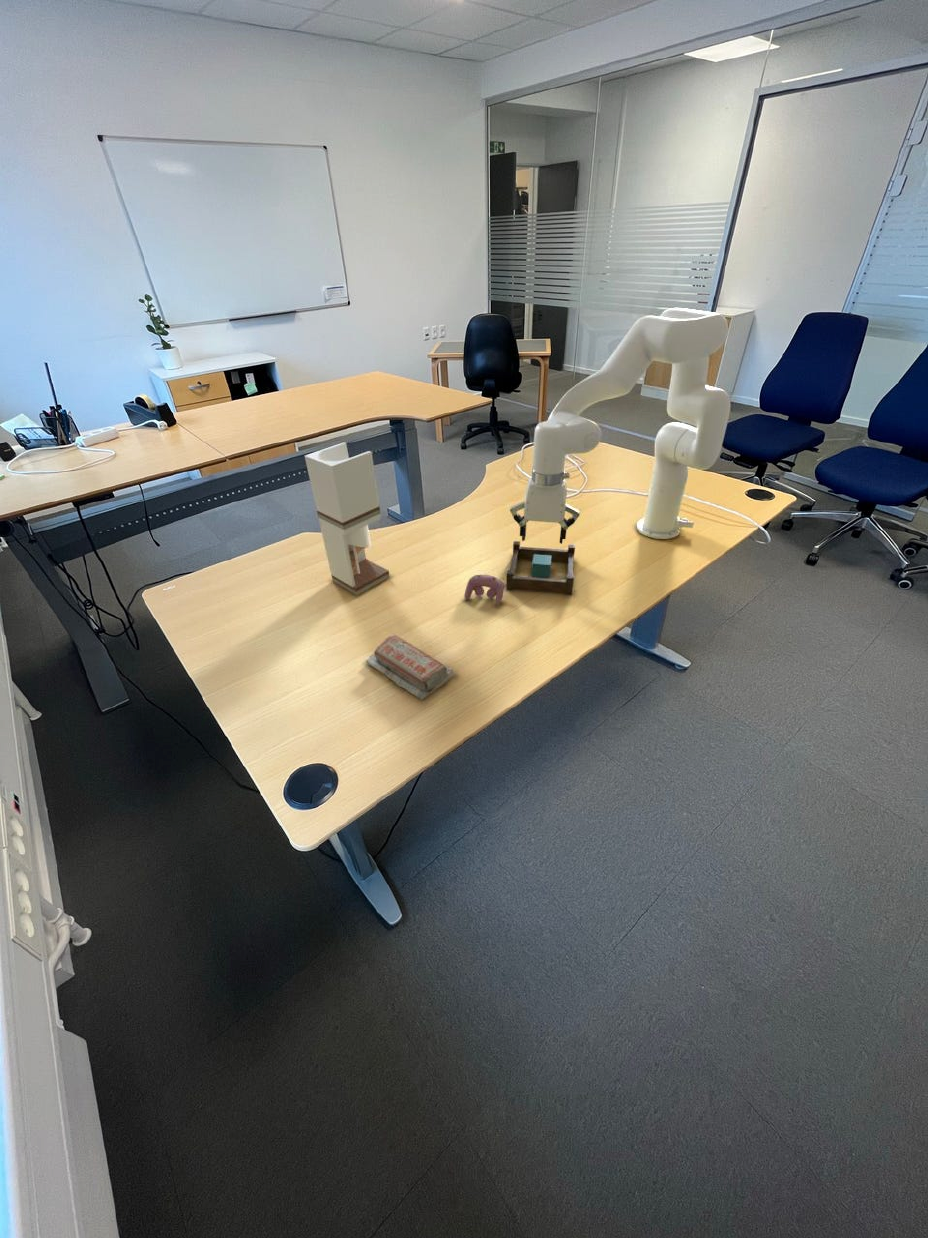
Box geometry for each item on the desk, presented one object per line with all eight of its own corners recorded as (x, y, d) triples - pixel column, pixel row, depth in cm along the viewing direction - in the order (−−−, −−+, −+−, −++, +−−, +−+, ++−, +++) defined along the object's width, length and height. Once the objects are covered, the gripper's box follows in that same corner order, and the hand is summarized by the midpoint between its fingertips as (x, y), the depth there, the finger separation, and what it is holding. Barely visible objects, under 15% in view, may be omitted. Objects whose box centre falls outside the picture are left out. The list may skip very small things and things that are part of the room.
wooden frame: (573, 560, 146) (575, 544, 143) (571, 594, 133) (573, 578, 130) (513, 556, 149) (513, 541, 146) (506, 589, 136) (506, 573, 133)
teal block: (550, 570, 143) (551, 555, 140) (549, 580, 139) (550, 564, 136) (532, 569, 143) (533, 554, 140) (531, 578, 140) (532, 563, 137)
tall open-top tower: (356, 595, 136) (331, 466, 115) (332, 580, 142) (304, 455, 121) (389, 576, 143) (371, 451, 121) (365, 563, 148) (343, 442, 127)
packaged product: (454, 659, 108) (420, 685, 102) (455, 676, 111) (422, 702, 105) (396, 625, 118) (362, 647, 112) (399, 641, 121) (365, 663, 115)
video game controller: (503, 604, 134) (507, 577, 132) (499, 606, 129) (503, 579, 128) (467, 597, 136) (470, 571, 135) (462, 600, 132) (465, 573, 130)
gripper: (584, 472, 125) (576, 535, 136) (513, 468, 128) (510, 530, 139) (584, 484, 120) (575, 549, 130) (509, 480, 122) (507, 544, 133)
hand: (542, 539), depth 134 cm, fingers open, 9 cm apart
